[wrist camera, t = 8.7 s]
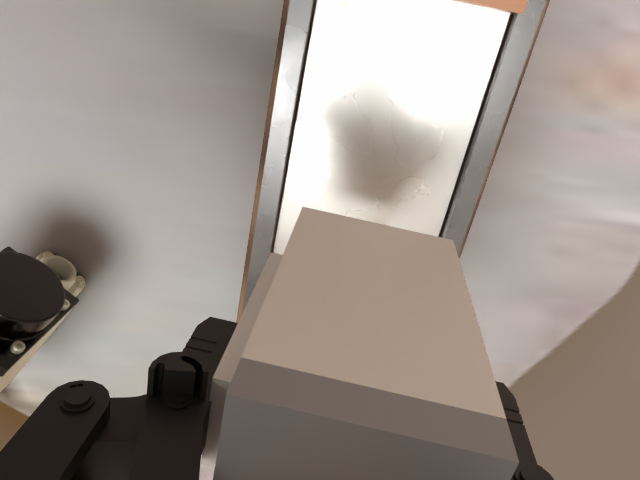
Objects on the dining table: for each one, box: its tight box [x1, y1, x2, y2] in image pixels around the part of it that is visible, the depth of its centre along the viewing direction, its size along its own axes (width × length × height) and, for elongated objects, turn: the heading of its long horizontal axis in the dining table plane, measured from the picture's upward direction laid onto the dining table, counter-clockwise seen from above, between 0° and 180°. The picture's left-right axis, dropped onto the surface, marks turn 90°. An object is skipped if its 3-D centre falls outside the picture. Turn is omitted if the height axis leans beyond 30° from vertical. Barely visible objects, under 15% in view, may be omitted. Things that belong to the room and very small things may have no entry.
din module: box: [213, 207, 519, 480], centre depth 14 cm, size 6×5×9 cm
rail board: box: [236, 0, 550, 323], centre depth 28 cm, size 24×12×4 cm, turn 169°
